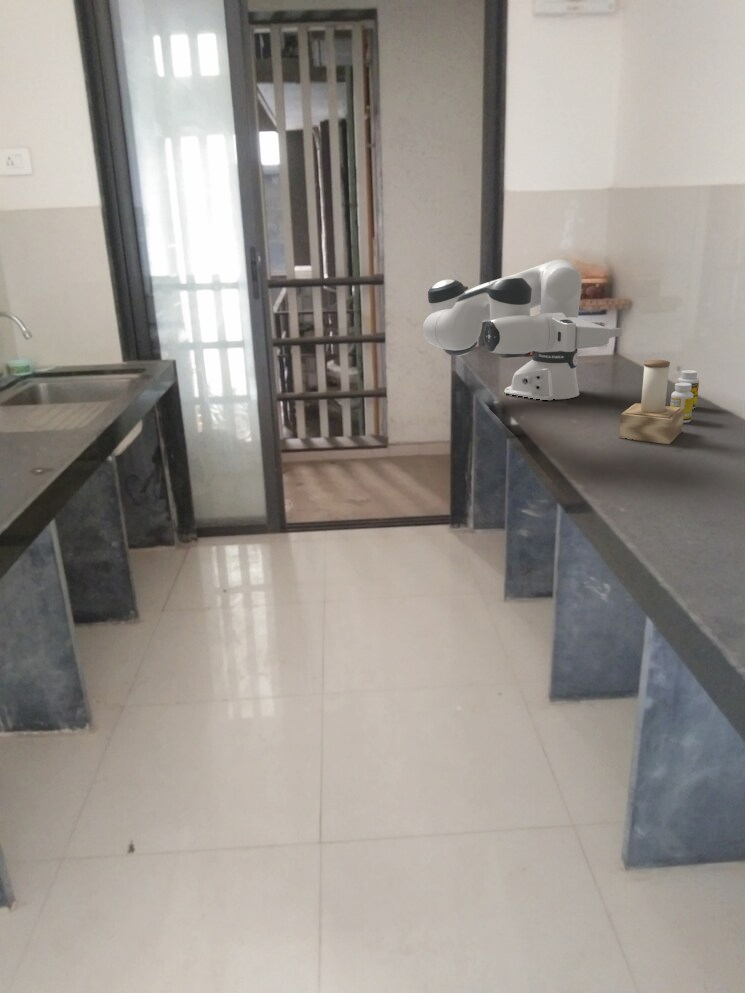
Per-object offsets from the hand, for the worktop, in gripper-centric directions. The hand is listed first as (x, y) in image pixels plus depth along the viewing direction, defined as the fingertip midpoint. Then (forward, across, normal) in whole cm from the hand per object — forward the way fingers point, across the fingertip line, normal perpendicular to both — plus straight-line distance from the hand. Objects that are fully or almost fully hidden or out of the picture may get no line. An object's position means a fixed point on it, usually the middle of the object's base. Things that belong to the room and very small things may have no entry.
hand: (611, 328), depth 182 cm
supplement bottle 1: (+33, -22, -27) cm, 48 cm away
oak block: (+12, 0, -27) cm, 29 cm away
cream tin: (+12, 0, -20) cm, 24 cm away
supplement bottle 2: (+25, -10, -27) cm, 38 cm away
